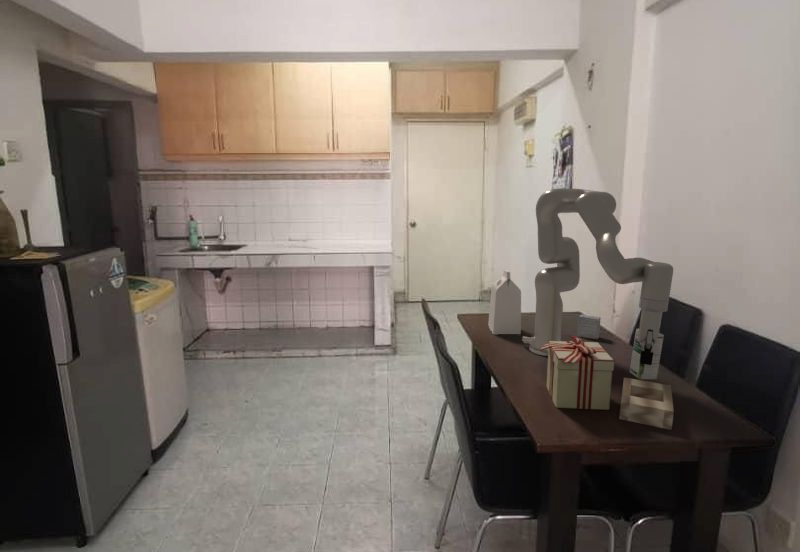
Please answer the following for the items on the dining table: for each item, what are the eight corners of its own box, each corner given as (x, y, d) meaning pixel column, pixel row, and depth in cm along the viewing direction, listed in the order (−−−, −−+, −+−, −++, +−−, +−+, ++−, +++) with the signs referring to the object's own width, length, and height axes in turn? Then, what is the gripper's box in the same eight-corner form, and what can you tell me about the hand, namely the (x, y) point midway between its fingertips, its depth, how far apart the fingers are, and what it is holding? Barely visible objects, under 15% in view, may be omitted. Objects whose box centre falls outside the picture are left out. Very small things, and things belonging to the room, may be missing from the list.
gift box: (532, 386, 143) (535, 332, 140) (592, 387, 142) (597, 333, 139) (547, 412, 126) (552, 352, 123) (616, 413, 126) (622, 353, 122)
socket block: (619, 418, 123) (621, 401, 122) (622, 393, 138) (623, 377, 138) (671, 429, 117) (673, 411, 116) (668, 401, 133) (670, 385, 132)
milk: (520, 334, 194) (524, 273, 189) (493, 334, 194) (496, 273, 189) (514, 326, 205) (517, 268, 200) (488, 326, 205) (490, 268, 201)
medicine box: (599, 337, 191) (601, 316, 190) (597, 340, 188) (599, 319, 186) (579, 333, 195) (580, 314, 194) (576, 336, 192) (578, 316, 190)
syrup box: (628, 371, 145) (634, 328, 142) (646, 371, 146) (653, 327, 143) (639, 379, 140) (645, 334, 137) (657, 379, 140) (664, 334, 137)
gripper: (639, 295, 147) (632, 348, 151) (639, 308, 132) (630, 366, 136) (666, 299, 144) (658, 352, 148) (669, 312, 129) (660, 371, 132)
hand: (645, 358), depth 142 cm, fingers closed on syrup box, 7 cm apart
